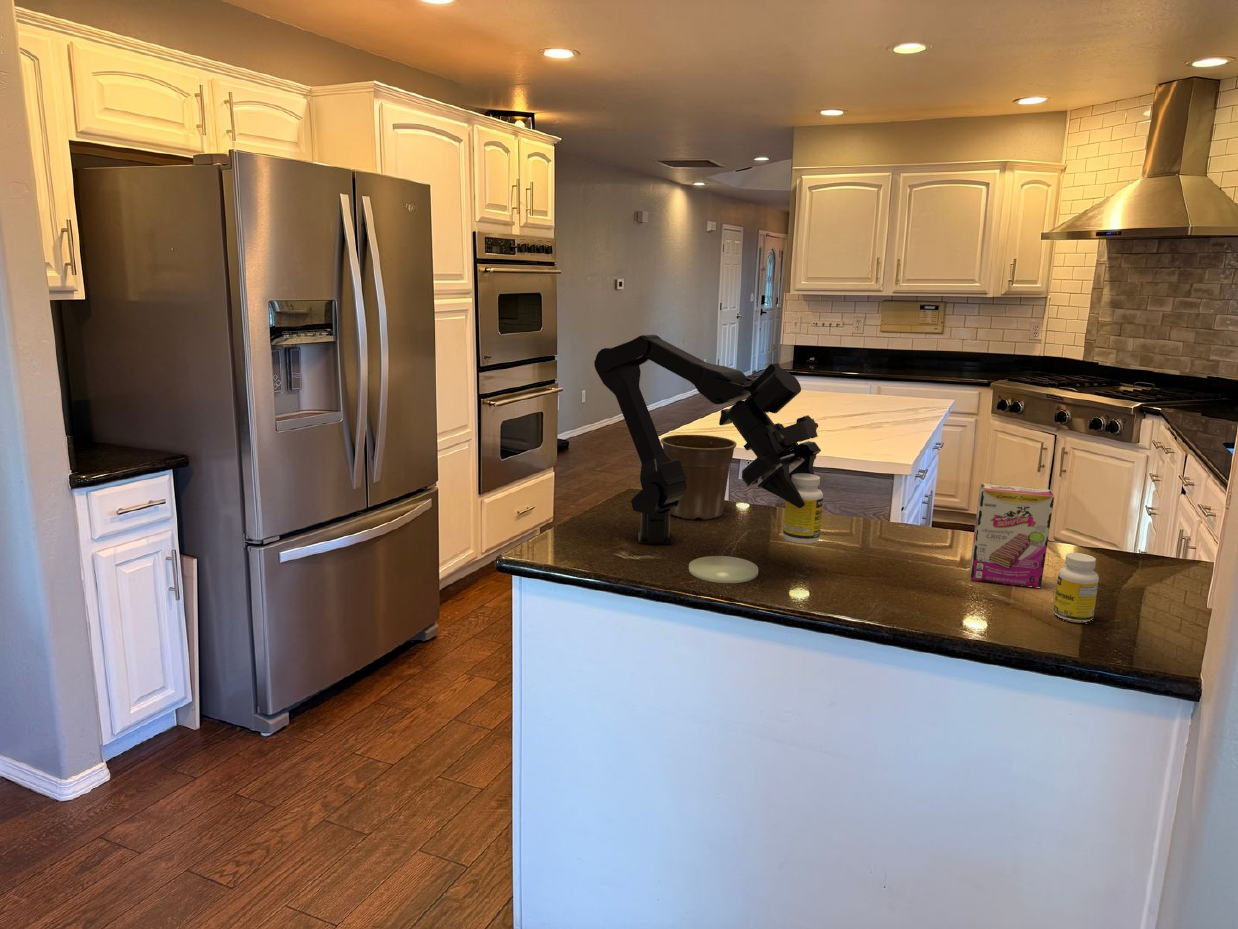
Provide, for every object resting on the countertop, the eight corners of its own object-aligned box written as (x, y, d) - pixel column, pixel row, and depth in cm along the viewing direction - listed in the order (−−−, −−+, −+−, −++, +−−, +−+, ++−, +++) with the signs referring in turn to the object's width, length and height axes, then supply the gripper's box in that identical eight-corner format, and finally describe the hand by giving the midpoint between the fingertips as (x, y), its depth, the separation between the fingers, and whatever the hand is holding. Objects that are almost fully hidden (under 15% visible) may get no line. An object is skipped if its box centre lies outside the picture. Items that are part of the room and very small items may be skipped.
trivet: (685, 559, 151) (686, 555, 151) (751, 560, 151) (752, 556, 151) (692, 582, 139) (692, 578, 139) (763, 583, 139) (763, 579, 139)
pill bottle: (820, 546, 139) (825, 481, 137) (782, 542, 140) (787, 479, 138) (819, 535, 145) (824, 473, 143) (783, 532, 146) (787, 470, 144)
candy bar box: (970, 581, 142) (981, 488, 139) (968, 572, 147) (978, 482, 143) (1042, 590, 139) (1055, 495, 135) (1038, 580, 143) (1050, 488, 140)
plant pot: (745, 511, 185) (749, 439, 181) (713, 527, 171) (716, 451, 168) (680, 500, 193) (683, 431, 190) (645, 515, 180) (647, 441, 176)
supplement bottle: (1045, 611, 130) (1053, 551, 128) (1078, 610, 130) (1086, 550, 128) (1066, 625, 124) (1075, 562, 122) (1100, 624, 125) (1110, 562, 123)
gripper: (762, 406, 133) (821, 485, 128) (814, 396, 147) (868, 466, 143) (717, 447, 139) (772, 524, 135) (771, 433, 153) (822, 502, 149)
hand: (811, 503), depth 140 cm, fingers closed on pill bottle, 6 cm apart
